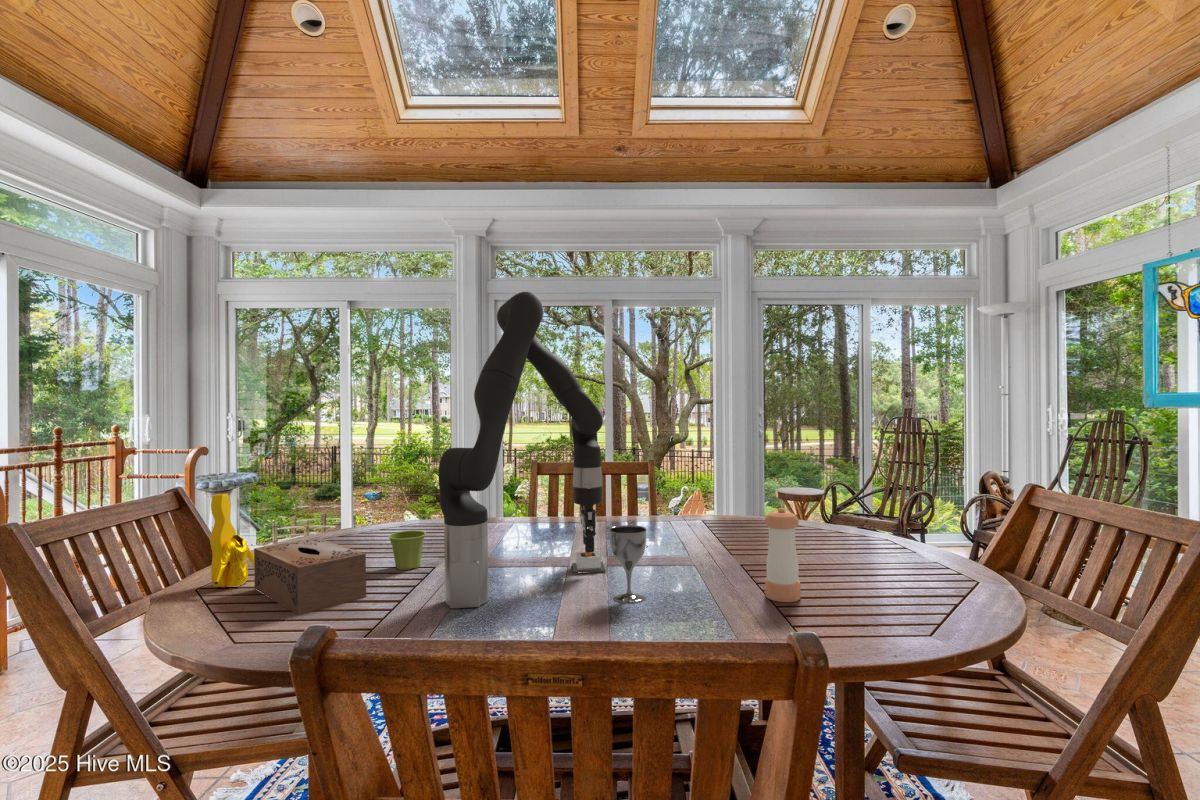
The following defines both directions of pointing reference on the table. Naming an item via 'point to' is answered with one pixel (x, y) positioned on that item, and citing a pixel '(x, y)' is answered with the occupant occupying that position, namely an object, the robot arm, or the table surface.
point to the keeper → (588, 570)
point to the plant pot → (407, 548)
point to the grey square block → (588, 561)
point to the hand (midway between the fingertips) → (588, 547)
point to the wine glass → (628, 556)
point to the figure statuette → (227, 547)
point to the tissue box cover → (310, 574)
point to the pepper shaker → (782, 557)
